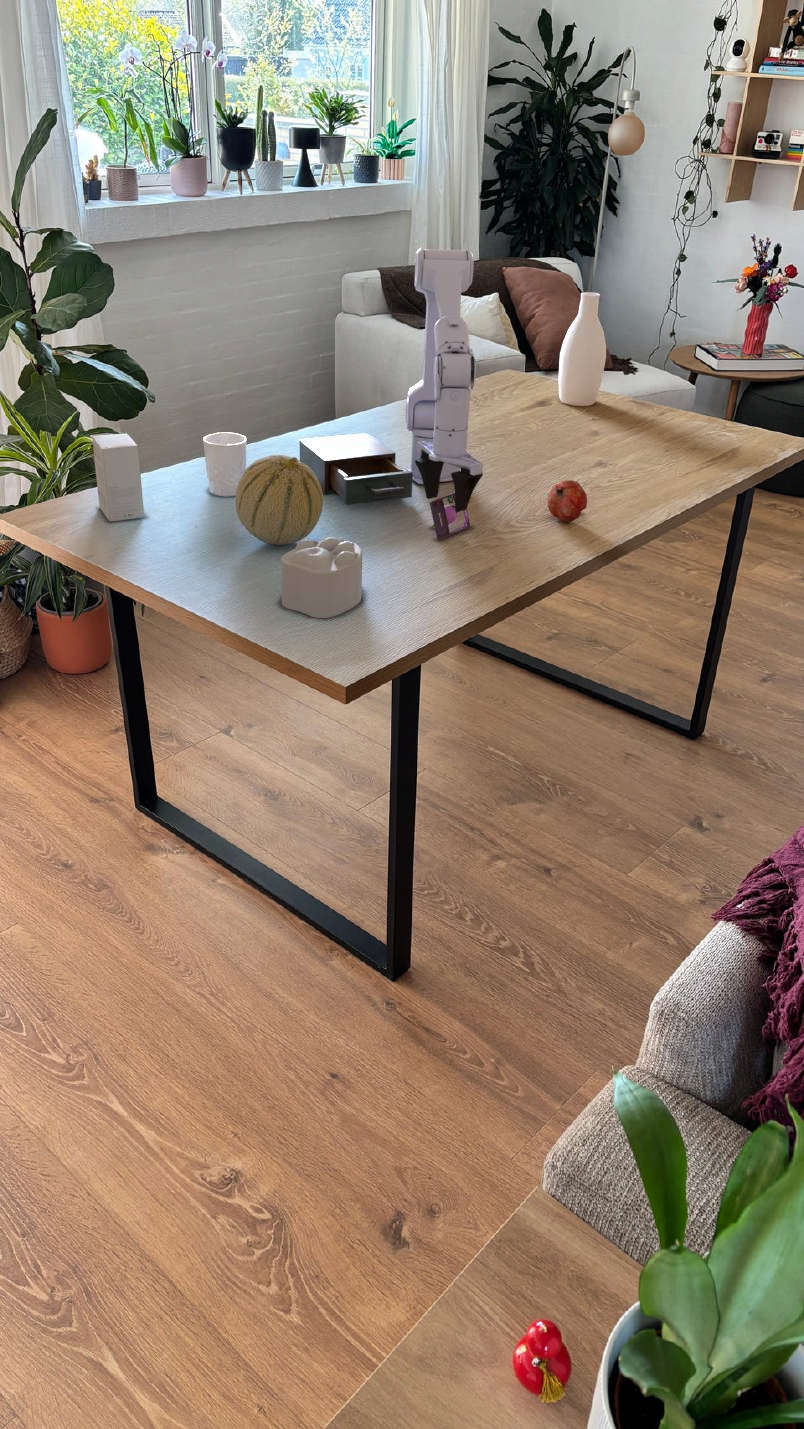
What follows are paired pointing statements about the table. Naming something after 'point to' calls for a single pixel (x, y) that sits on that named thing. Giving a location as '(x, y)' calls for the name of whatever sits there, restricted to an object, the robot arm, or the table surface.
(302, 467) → the cantaloupe
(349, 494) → the drawer
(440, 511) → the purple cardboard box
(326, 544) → the lumpy-topped squat cylinder
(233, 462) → the white cup
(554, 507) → the pomegranate
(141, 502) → the small box
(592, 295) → the bottle
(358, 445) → the cabinet
